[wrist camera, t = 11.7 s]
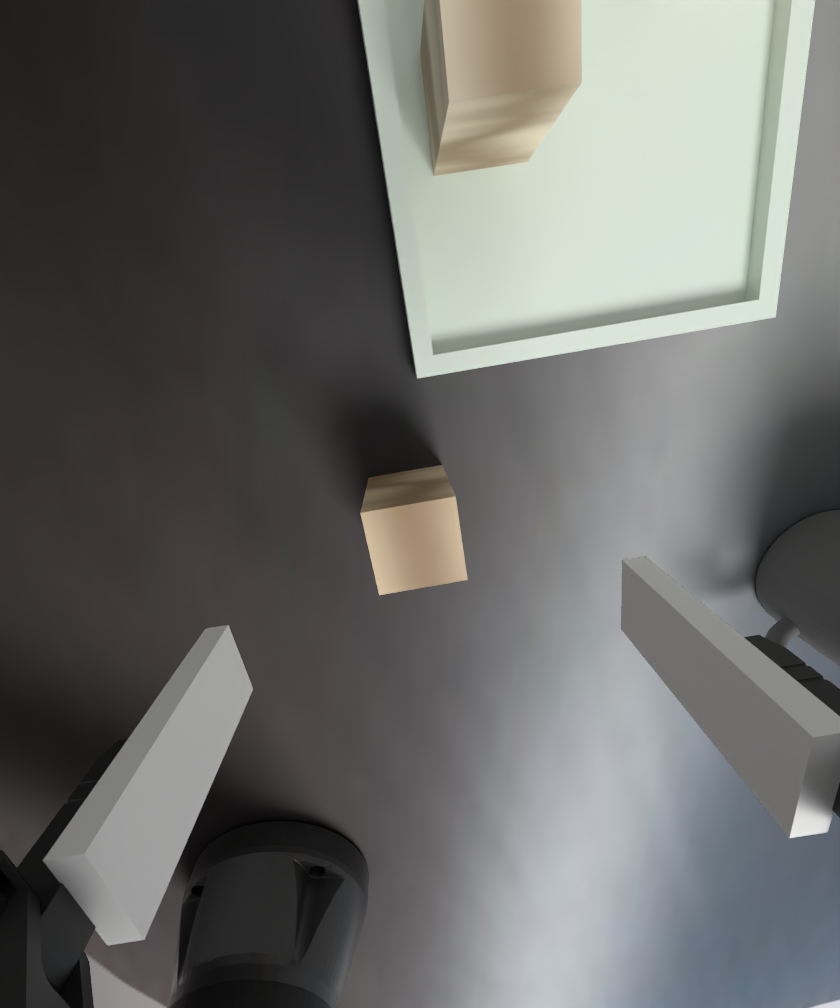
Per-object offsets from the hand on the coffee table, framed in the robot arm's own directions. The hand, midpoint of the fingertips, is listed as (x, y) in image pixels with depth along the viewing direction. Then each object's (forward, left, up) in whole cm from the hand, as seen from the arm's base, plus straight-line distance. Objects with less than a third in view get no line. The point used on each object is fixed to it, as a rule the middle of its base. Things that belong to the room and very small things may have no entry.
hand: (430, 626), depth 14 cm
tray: (+11, +18, -12) cm, 24 cm away
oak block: (0, 0, -13) cm, 13 cm away
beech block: (+6, +18, -12) cm, 23 cm away
